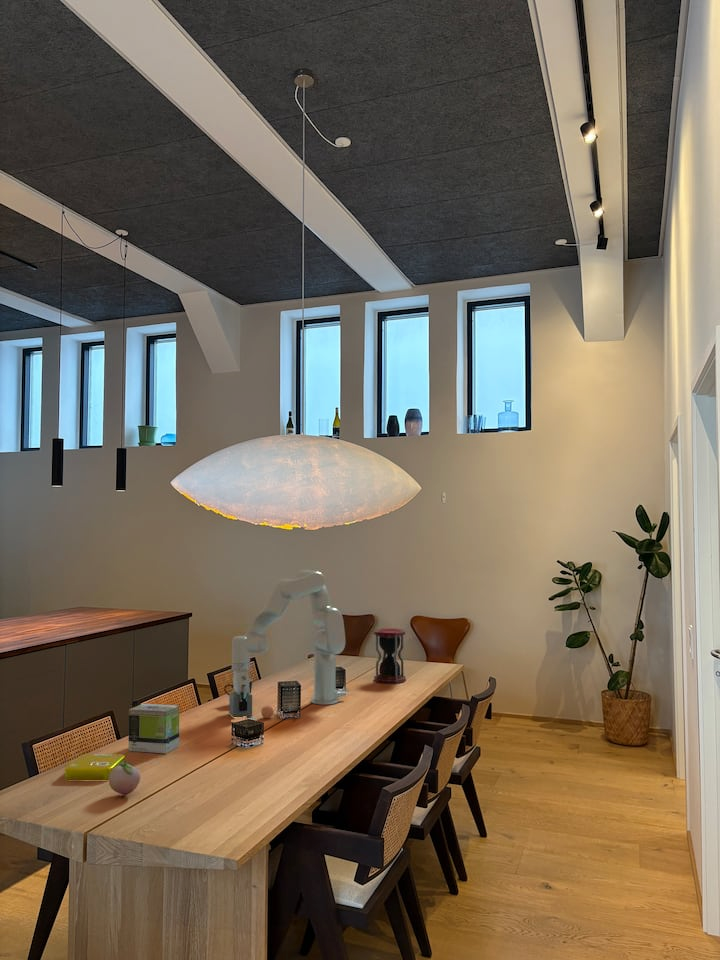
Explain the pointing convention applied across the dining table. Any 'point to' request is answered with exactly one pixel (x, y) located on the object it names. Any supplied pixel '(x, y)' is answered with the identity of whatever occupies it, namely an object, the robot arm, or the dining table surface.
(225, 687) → the coffee mug
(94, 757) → the element tile
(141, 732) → the tea box
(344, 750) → the dining table surface
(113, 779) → the decorative fruit
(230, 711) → the grey block
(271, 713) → the ball
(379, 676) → the hourglass
